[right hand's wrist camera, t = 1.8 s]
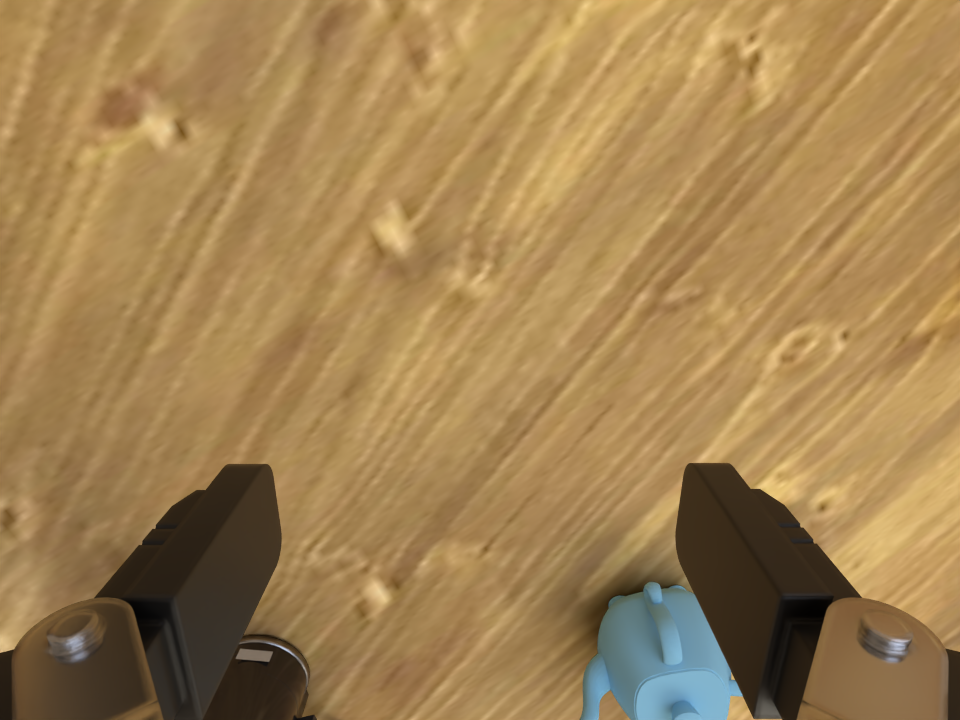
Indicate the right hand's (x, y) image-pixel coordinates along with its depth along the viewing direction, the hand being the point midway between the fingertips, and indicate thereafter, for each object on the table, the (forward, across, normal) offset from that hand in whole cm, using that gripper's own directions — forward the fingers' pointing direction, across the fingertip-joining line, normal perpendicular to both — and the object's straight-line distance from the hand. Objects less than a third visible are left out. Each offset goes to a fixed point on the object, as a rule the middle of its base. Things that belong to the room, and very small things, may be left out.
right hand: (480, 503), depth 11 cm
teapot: (+35, +16, -37) cm, 54 cm away
